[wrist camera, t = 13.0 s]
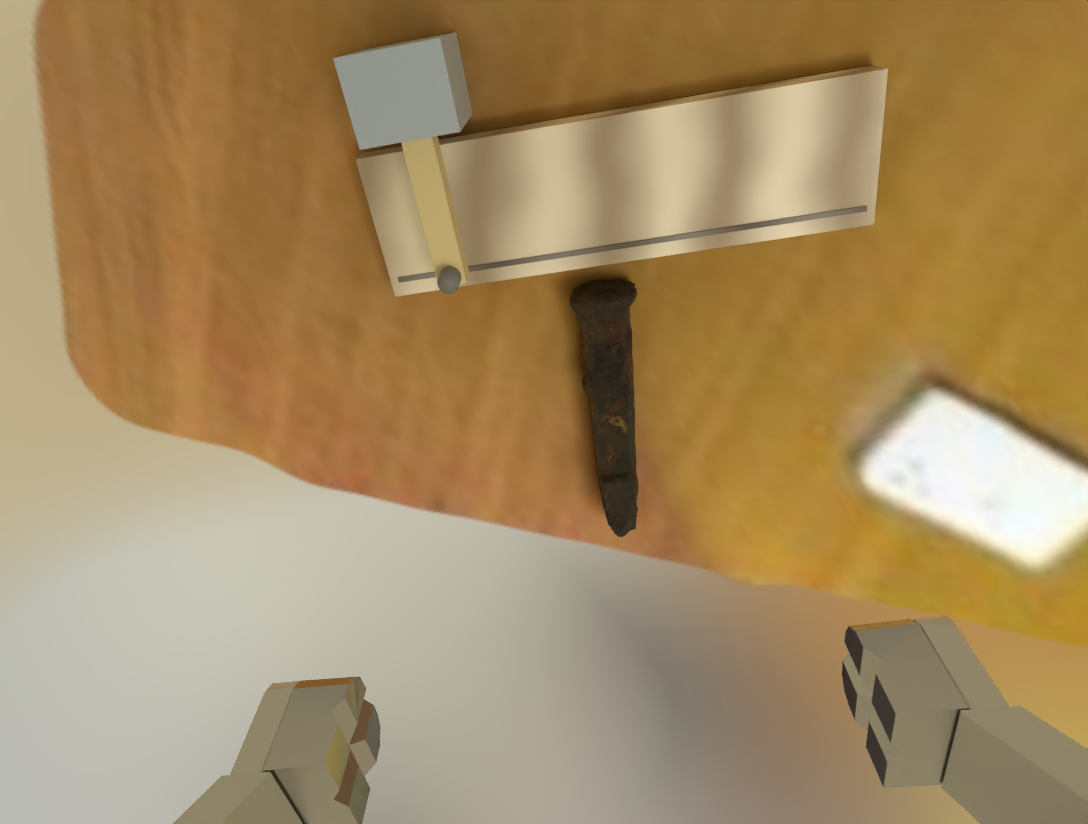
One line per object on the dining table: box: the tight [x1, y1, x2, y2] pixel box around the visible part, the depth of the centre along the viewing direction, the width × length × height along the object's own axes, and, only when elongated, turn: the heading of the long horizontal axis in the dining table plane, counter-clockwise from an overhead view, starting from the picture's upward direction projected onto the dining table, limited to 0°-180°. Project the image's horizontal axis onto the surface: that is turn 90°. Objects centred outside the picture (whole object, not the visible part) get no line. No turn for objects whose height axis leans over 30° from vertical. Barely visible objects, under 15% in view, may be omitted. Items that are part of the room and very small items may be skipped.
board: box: [355, 65, 888, 297], centre depth 39 cm, size 28×8×2 cm, turn 99°
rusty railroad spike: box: [570, 279, 638, 537], centre depth 46 cm, size 19×4×5 cm, turn 4°
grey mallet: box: [333, 32, 473, 294], centre depth 36 cm, size 5×12×6 cm, turn 10°
